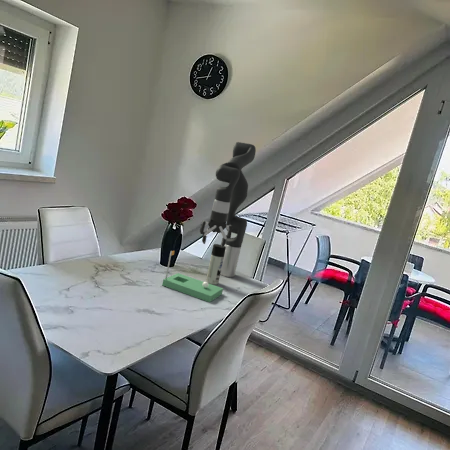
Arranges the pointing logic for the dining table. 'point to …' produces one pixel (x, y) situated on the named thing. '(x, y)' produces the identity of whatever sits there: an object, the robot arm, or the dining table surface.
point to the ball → (205, 284)
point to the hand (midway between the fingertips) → (212, 244)
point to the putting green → (191, 286)
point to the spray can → (215, 264)
